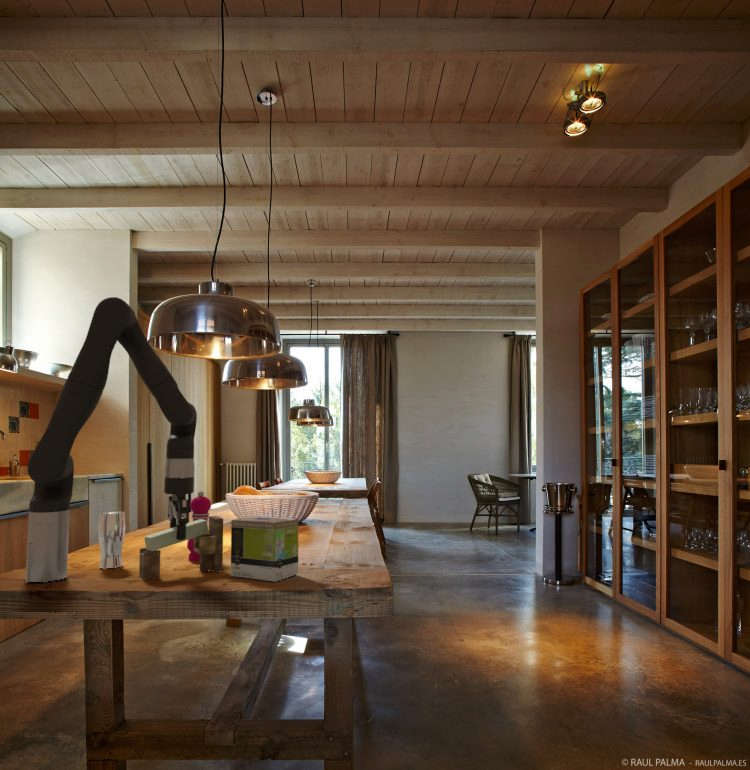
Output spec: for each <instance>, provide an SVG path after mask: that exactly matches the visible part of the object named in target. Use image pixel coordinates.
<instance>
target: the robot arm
mask: <svg viewBox="0 0 750 770" xmlns="http://www.w3.org/2000/svg"><path fill="white" fill-rule="evenodd" d="M92 315H93V316H92V318H91V321H90V324H89V327H88V331H87V334H86V337H85V340H84V342H83V344H82V347H81V349H80V351H79V352H78V354H77V357H76V359H75V361H74V364H73V366H72V368H71V370H70V372H69V373H68V376H67V377H66V378H67V379H66V380H65V383H63V386H62V389H61V390H60V391H61V392H60V395H59V396H58V400H57V402H56V404H55V406H54V409H53V411H52V414H51V417H50V420H49V422H48V425H47V427H46V429H45V431H44V433H43V434H42V435H41V436H42V437H40V440H39V441H38V442H37V443H38V444H37V445H36V446H35V449H34V450H33V452H32V454H31V455H30V457H29V459H28V461H27V475H28V476H29V478H30V480H32V482H34V490H33V493H32V496H31V498H30V500H29V505H28V506H29V507H28V524H27V525H28V526H27V528H28V529H27V542H26V543H27V545H26V568H25V583H26V584H29V583H28V582H43V583H49V582H48V581H52V582H55V581H54V580H58V581H61V580H60V579H62V580H64V578H65V579H66V578H67V577H68V558H69V557H68V555H69V529H70V510H71V507H70V505H71V500H72V497H73V488H74V477H75V476H74V475H75V473H74V471H75V468H74V467H75V465H74V459H73V457H72V455H71V452H72V449H73V446H74V442H75V441H76V439H77V436H78V434H79V433H80V431H81V430H82V429H83V427H84V426H85V424H86V423H87V421H88V420H89V419H90V417H91V416H92V414H93V413H94V411H95V410H96V408H97V406H98V403H99V402H100V400H101V397H102V394H103V392H104V390H105V387H106V385H107V381H108V377H109V372H110V371H109V370H110V363H111V357H112V354H113V351H114V349H115V346H116V344H117V342H118V343H119V344H120V345H121V346H122V348H123V349H124V350H125V351H126V353H127V355H128V356H129V358H130V360H131V362H132V363H133V365H134V367H135V369H136V371H137V372H138V373H137V374H138V375H139V377H140V378H141V380H142V382H143V383H144V385H145V386H146V388H147V389H148V391H149V392H150V394H151V395H152V397H154V399H155V400H156V402H157V404H158V407H159V408H160V410H161V412H162V414H163V415H164V418H165V419H166V420H167V422H168V423H169V424H170V430H169V437H168V439H167V442H166V454H165V455H166V457H165V459H166V460H165V466H164V482H163V483H164V488H163V493H164V494H166V495H168V506H167V509H168V511H167V512H168V513H167V518H168V521H169V529H170V528H173V527H177V535H176V539H177V540H185V539H186V525H187V523H189V522H190V503H191V501H190V499H187V495H190V494H193V493H194V492H195V491H194V489H195V434H196V431H197V430H196V428H197V423H198V422H197V420H198V419H197V418H198V416H197V414H198V413H197V410H196V407H195V406H194V404H192V403H191V402H189V401H188V400H187V399H186V397H185V396H184V395H183V393H182V392H181V391H180V390H181V389H179V386H178V383H177V381H176V380H175V378H174V377H173V375H172V374H171V372H170V370H169V369H168V367H167V366H166V365H165V363H164V362H163V361H162V360H161V358H160V357H159V355H158V354H157V353H156V351H155V350H154V349H153V347H152V346H151V344H150V342H149V341H148V339H147V337H146V336H145V334H144V331H143V330H142V328H141V325H140V323H139V320H138V319H137V317H136V312H135V311H134V309H133V308H132V307H131V306H130V305H129V304H128V303H127V302H126V301H125V300H123V299H122V298H119V297H117V296H109V297H107V298H106V297H105V298H104V299H103V300H101V301H99V303H98V304H97V305H96V307H95V309H94V312H93V314H92Z"/></svg>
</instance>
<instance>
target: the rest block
mask: <svg viewBox="0 0 750 770" xmlns="http://www.w3.org/2000/svg"><path fill="white" fill-rule="evenodd" d="M161 553H162V552H161V549H158V550H155V551H149V550H146V547H140V548H139V563H138V565H139V566H138V567H139V569H138V571H139V573H138V576H139V575H140V576H139V578H140V579H141V578H142V579H143V580H142V579H141V580H142V581H145V580H144V579H151V580H154V579H153V578H160V576H161V574H160V573H161Z"/></svg>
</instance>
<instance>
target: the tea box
mask: <svg viewBox="0 0 750 770" xmlns="http://www.w3.org/2000/svg"><path fill="white" fill-rule="evenodd" d="M230 536H231V537H230V540H231V541H230V577H237V578H242V577H243V578H244V579H250V578H251V580H260V581H266V582H267V581H268V582H274V583H276V582H280V581H283V580H282V579H284V580H286V579H285V578H287V579H289V578H288V577H291V576H294V575H296V574H299V518H296V517H294V518H293V517H277V516H276V517H275V516H256V515H255V516H249V517H243V518H234V519H231V531H230ZM294 577H295V576H294ZM291 578H292V577H291ZM279 580H280V581H279Z"/></svg>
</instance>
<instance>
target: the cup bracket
mask: <svg viewBox="0 0 750 770" xmlns="http://www.w3.org/2000/svg"><path fill="white" fill-rule="evenodd" d="M208 531H209V533H207V534H204V535H201V536H198V537H195V538H194V551H195V552H196V553H198V554H199V555H200V562H199V572H200V571H207V572H209V571H208V570H213V571H214V572H213V571H212V572H213V573H215V572H217V573H220V572H219V571H222V572H223V569H224V568H223V563H224V562H223V557H224V555H223V554H224V550H223V548H224V518H222V517H220V516H217V515H211V516H210V515H209V518H208Z"/></svg>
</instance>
